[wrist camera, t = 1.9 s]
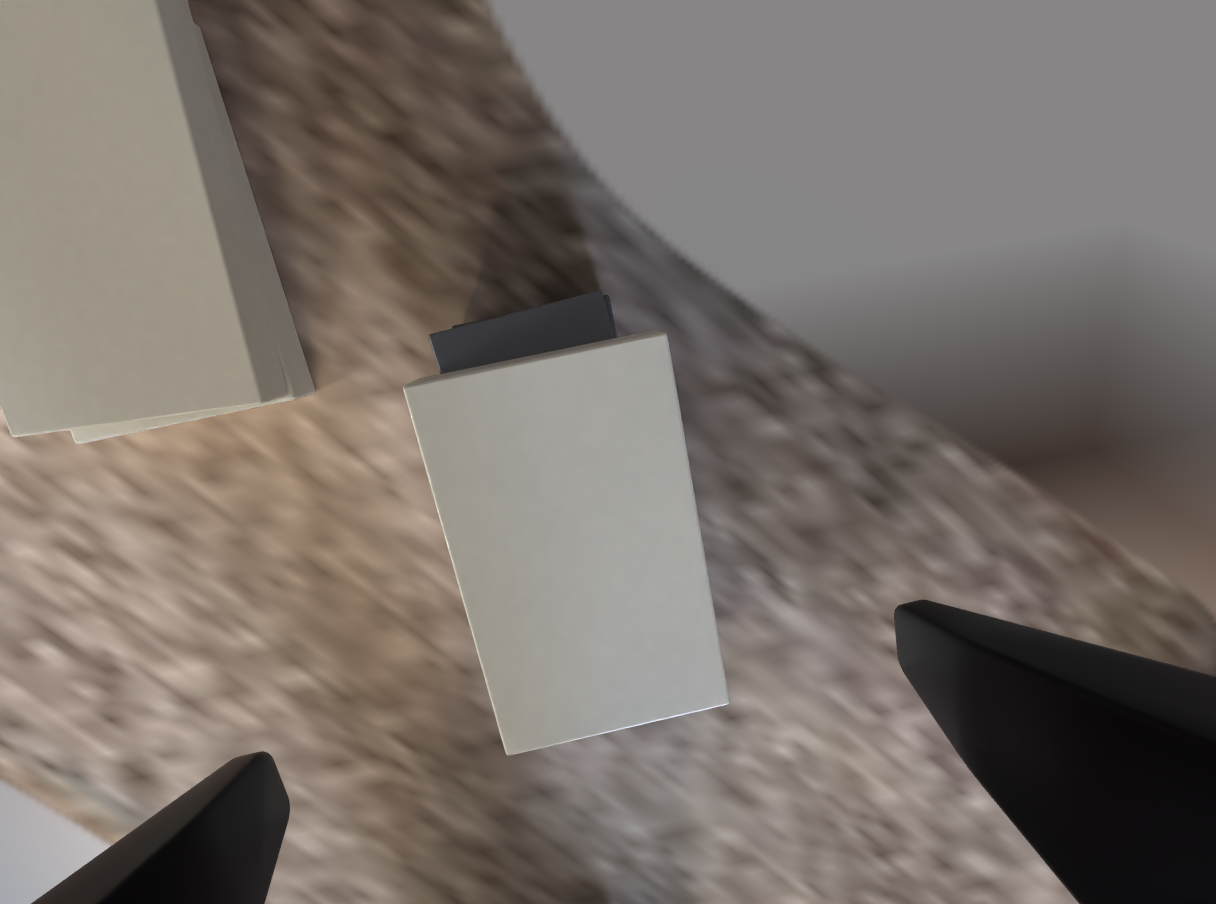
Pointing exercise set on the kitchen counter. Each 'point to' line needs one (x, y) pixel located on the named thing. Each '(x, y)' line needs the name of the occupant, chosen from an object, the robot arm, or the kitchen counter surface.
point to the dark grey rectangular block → (525, 333)
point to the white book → (574, 537)
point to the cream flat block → (128, 230)
